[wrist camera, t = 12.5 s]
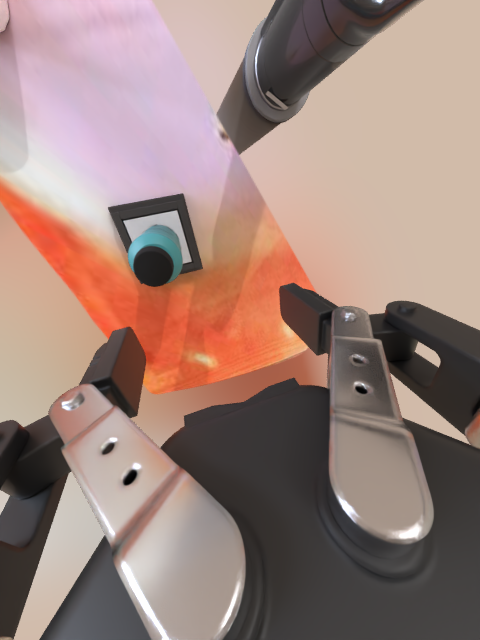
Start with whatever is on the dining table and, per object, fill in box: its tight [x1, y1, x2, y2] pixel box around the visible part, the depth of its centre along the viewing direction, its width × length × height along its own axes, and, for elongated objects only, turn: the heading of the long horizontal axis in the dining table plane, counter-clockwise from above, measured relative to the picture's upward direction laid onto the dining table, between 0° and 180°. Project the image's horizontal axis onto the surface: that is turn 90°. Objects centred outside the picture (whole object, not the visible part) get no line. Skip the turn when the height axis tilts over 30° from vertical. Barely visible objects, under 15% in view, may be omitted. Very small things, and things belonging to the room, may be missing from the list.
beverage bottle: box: [128, 224, 183, 287], centre depth 30 cm, size 6×7×20 cm
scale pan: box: [124, 210, 192, 264], centre depth 39 cm, size 9×9×2 cm
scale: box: [108, 194, 203, 284], centre depth 40 cm, size 14×13×3 cm
